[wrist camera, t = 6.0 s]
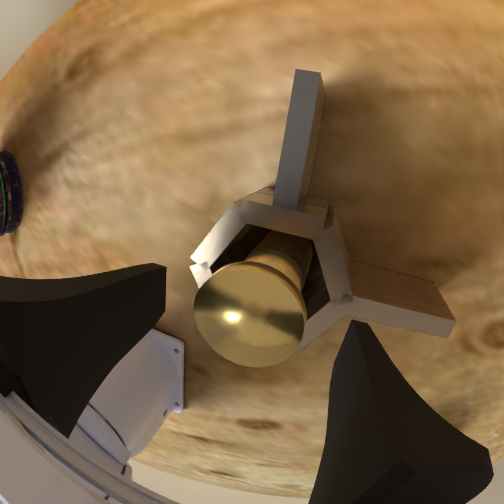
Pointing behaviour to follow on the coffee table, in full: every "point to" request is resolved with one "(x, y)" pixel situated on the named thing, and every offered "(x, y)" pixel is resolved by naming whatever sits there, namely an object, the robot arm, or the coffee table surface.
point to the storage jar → (10, 194)
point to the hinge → (320, 238)
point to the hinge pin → (257, 303)
